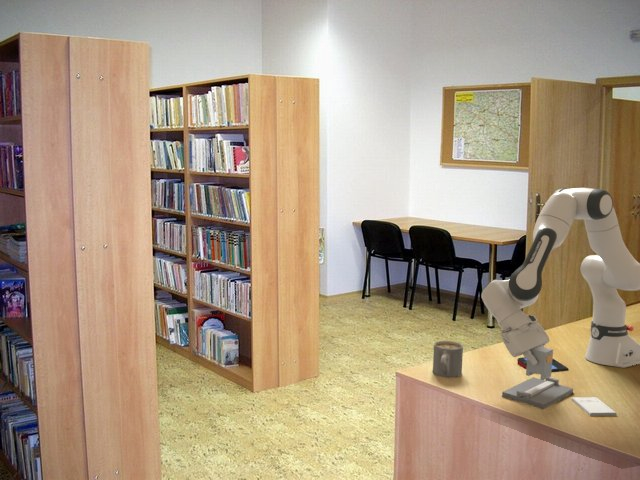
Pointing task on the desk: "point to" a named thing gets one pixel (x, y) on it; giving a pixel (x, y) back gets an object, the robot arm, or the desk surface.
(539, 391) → the rail mount
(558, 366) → the game console
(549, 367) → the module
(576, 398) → the external hard drive
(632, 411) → the desk surface
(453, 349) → the coffee mug
